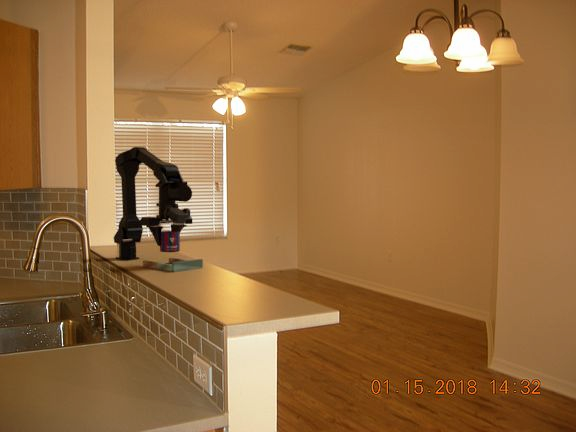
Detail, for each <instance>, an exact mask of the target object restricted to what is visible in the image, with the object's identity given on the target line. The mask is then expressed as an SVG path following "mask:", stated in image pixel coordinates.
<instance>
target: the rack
mask: <svg viewBox="0 0 576 432" xmlns="http://www.w3.org/2000/svg"><path fill="white" fill-rule="evenodd" d="M203 264H204V262H203V258H199V259H197V258H196V259H185V258H177V257H168V263H163V262H159V261H158V262H157V261H151V260H142V267H144V268H151V269H155V270H161V271H166V272H172V273H177V272H183V271H184V272H185V271H192V270H197V269H203V267H204V266H203Z"/></svg>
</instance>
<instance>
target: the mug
mask: <svg viewBox="0 0 576 432" xmlns="http://www.w3.org/2000/svg"><path fill="white" fill-rule="evenodd" d="M180 234H181V232H179V231H171V230H161V245H160V246H159V251H160V252H162V253H177V252H180V251H181V249H180V248H181V245H180V244H181V239H180V238H181V235H180Z"/></svg>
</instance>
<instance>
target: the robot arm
mask: <svg viewBox="0 0 576 432" xmlns="http://www.w3.org/2000/svg"><path fill="white" fill-rule="evenodd" d="M114 162H115V167H116V168H115V169H116V172H117V173H118V174H119V177H121V197H122V199H121V200H122V217H121V218H120V220H119V222H118V230H116V232H115V234H114V236H113V242H114V244H118V256H115V260H116V259H117V260H123V261H129V260H138V259H139V260H140V257H139V256H137V243H141V241H142V237H143V231H144V229H143V226H144V227H145V226H146V228H148V229H149V231H150V233H151V234H152V236H153V237H152V238H153V239H154V241H155V243H156V245H157V246H158V247H160V245H161V231H163V228H164V226H162V225H161V224H170V231H179V232H180V233H181V232H182V230H183V229H184V228H186V227H187V226H188V225H192V224H193V217H192V216H191V210H190V208H188V207H187V208H185V207H184V208H182V209H180V208H179V204H178V203H176V202H184V203H187V202H189V201H190V200H191V198H192V196H193V191H192V188H191V187H190V186H189V185H188V181H184V178H183V176H182V173H181V172H180V170H179V167H178V165H176V164H174V163H171V162H168V161H163V160H162V159H161V158H159V157H158V156H156V155H154V153H152V152H151V151H149V150H148V148H146V147H142V146H134V147H132V148H131V149H129V150H128V149H127V150H125V151H122V152H121V153H118V154H117V156H116V157H115V159H114ZM142 164H143V165H145V166H146V167H147V168H149V170H151V171H152V172H153V176H154V177H155V178H156V179H157V180H158V182H157V183H156V184H155V188H158V203H156V207H158V214H156V215H155V216H142V217H141V218H139V217H138V215H137V195H136V194H137V193H136V192H137V191H136V176H137V174H138V172H140V171H139V170H140V166H141V165H142Z"/></svg>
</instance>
